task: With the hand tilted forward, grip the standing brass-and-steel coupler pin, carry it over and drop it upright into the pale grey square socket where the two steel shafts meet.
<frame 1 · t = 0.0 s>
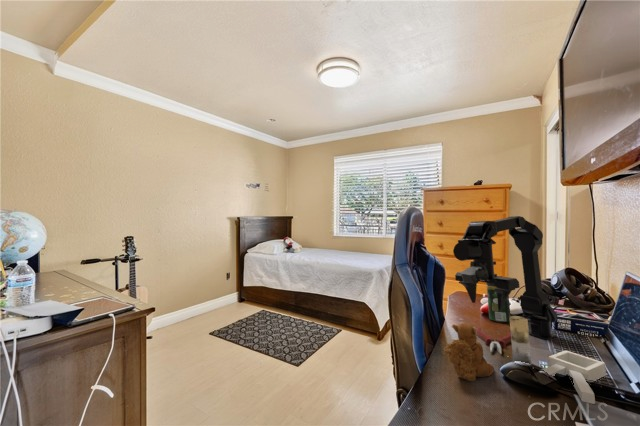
hand: (486, 305, 89), 15 cm above the table, tool pointing down, fingers open, 9 cm apart
pliers: (490, 343, 96), on the table
coupler: (522, 362, 80), on the table
socket: (577, 372, 74), on the table
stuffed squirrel: (468, 374, 76), on the table
coffee jar: (499, 319, 117), on the table
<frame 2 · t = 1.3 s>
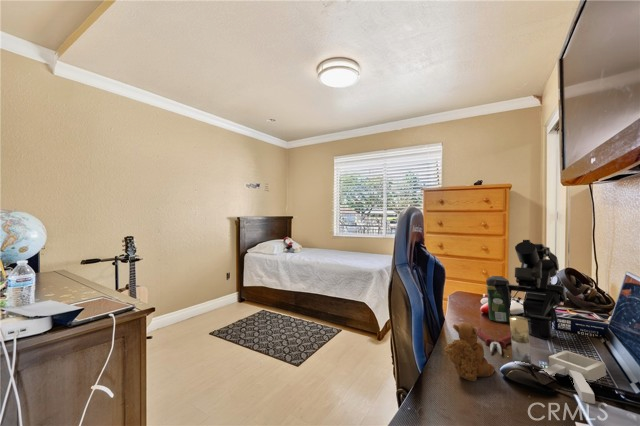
hand: (525, 312, 87), 13 cm above the table, tool tilted 45°, fingers open, 9 cm apart
nothing on the table moved.
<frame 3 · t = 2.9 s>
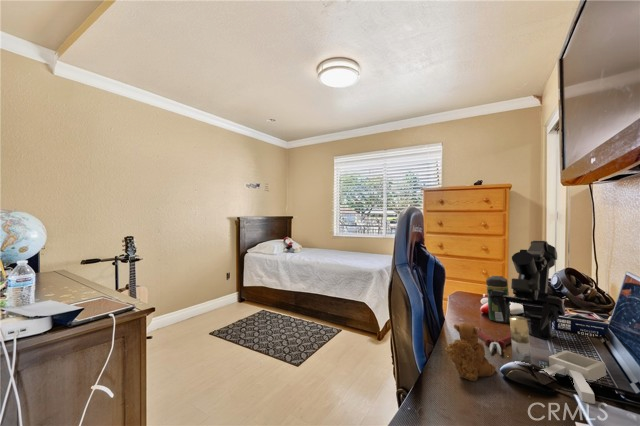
hand: (522, 325, 83), 10 cm above the table, tool tilted 45°, fingers open, 9 cm apart
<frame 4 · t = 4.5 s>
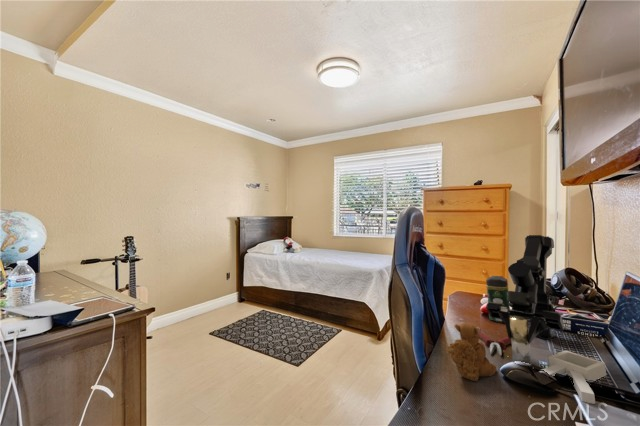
hand: (518, 340, 80), 7 cm above the table, tool tilted 45°, fingers closed on coupler, 4 cm apart
coupler: (522, 362, 80), on the table, touching gripper
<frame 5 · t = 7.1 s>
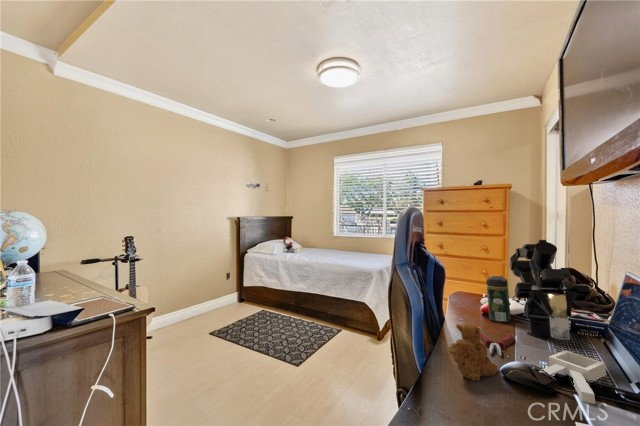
hand: (560, 315, 82), 13 cm above the table, tool tilted 45°, fingers closed on coupler, 4 cm apart
coupler: (560, 337, 83), point 6 cm above the table, touching gripper
when the fingers open (8 cm above the table, at t = 9.6 s): coupler drops 1 cm, resting in socket.
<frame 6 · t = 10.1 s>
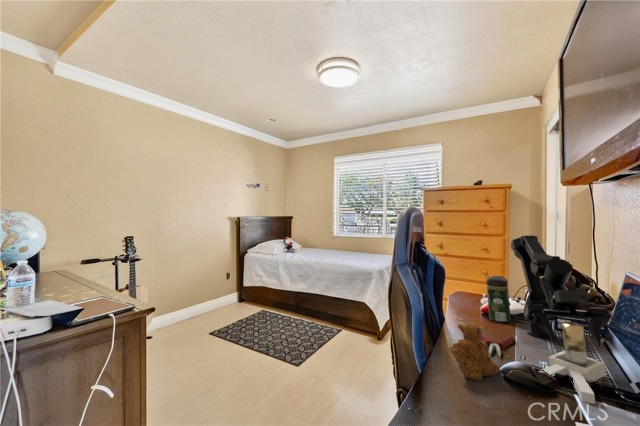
hand: (576, 343, 73), 8 cm above the table, tool tilted 45°, fingers open, 9 cm apart
coupler: (577, 372, 74), resting in socket
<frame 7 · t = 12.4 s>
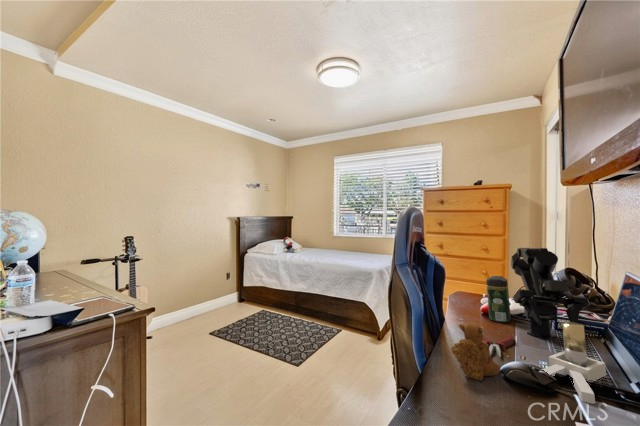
hand: (557, 326, 83), 9 cm above the table, tool tilted 35°, fingers open, 9 cm apart
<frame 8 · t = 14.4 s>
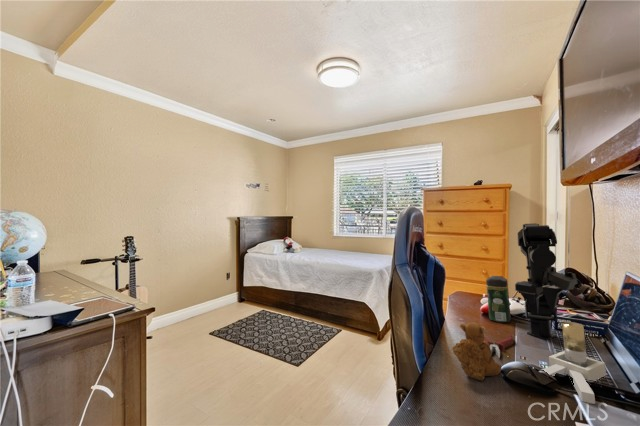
hand: (544, 311, 88), 12 cm above the table, tool pointing down, fingers open, 9 cm apart
at the end: coupler 0.1 cm off-centre on the socket, point 0.0 cm above the socket's base; coupler tilted 0°; the gripper is holding nothing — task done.
